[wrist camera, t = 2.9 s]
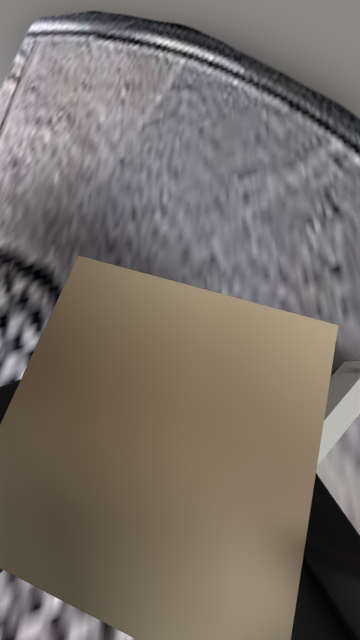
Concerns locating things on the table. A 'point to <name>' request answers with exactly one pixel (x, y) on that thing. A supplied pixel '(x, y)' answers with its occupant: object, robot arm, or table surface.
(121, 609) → the tan square block
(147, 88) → the table surface
